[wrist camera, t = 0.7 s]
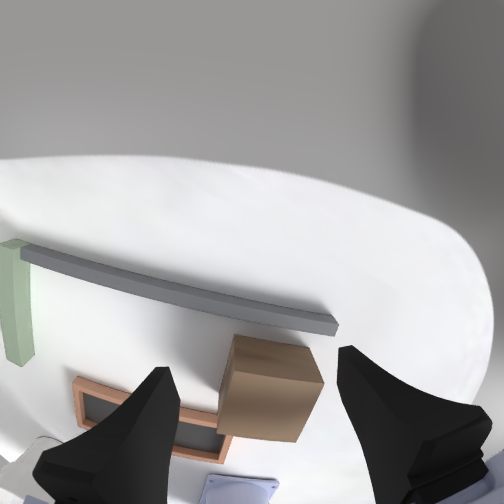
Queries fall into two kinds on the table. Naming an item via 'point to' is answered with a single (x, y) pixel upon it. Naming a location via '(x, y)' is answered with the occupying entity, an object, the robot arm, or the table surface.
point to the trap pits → (188, 430)
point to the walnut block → (267, 390)
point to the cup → (24, 475)
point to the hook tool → (18, 292)
